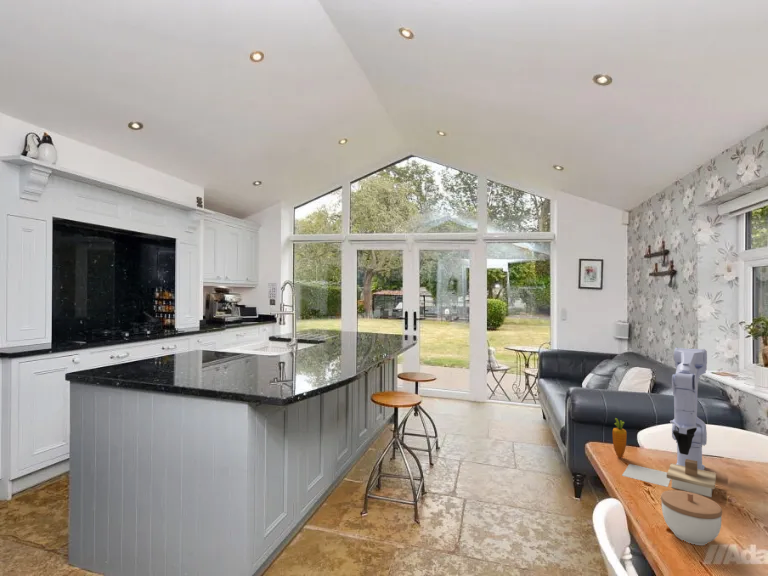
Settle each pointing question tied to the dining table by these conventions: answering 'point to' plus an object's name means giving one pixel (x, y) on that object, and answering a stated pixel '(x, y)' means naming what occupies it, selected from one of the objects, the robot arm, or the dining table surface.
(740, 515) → the dining table surface
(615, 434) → the carrot
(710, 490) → the cream dish
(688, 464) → the oak lid
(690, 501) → the lidded bowl
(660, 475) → the rubber mat
